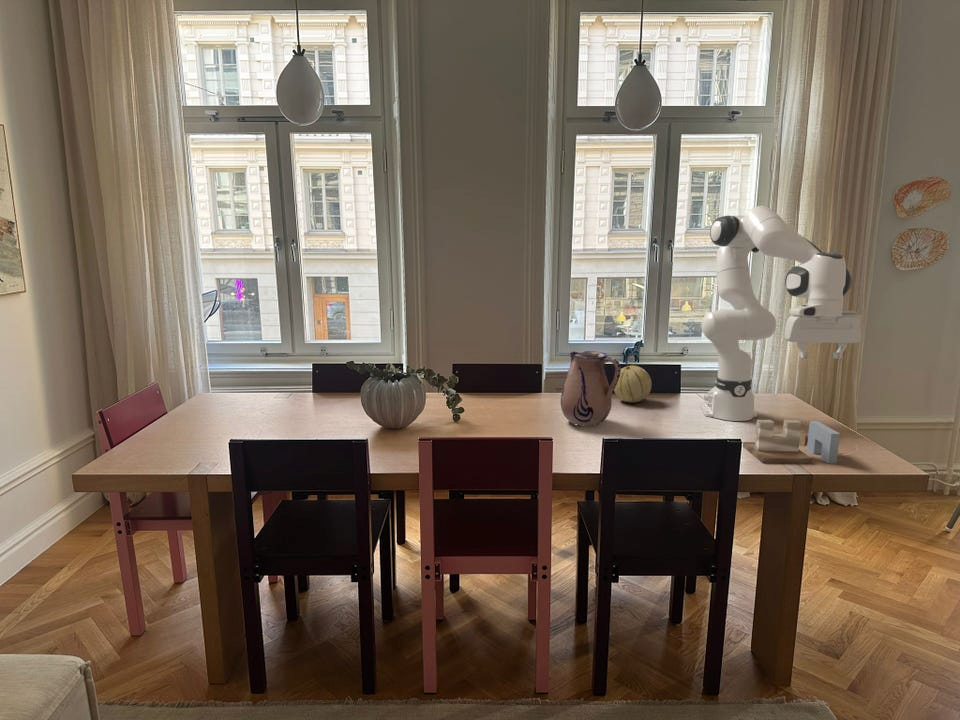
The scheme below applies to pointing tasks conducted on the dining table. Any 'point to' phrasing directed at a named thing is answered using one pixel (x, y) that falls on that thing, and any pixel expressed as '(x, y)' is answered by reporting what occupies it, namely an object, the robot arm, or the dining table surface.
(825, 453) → the slotted plate
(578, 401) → the ceramic pitcher
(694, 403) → the dining table surface
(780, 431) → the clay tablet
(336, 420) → the dining table surface
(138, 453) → the dining table surface
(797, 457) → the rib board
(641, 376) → the cantaloupe
